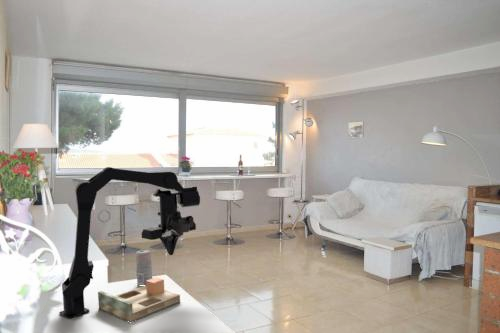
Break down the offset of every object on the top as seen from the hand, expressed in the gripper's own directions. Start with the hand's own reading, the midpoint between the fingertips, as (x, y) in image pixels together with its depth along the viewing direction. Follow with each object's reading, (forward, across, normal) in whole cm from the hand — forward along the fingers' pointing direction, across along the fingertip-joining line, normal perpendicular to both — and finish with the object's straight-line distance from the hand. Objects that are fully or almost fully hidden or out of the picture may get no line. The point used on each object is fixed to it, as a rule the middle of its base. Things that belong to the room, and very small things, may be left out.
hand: (171, 254), depth 132 cm
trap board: (+13, -13, 0) cm, 18 cm away
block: (+10, -7, 0) cm, 13 cm away
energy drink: (+13, 0, +16) cm, 21 cm away
